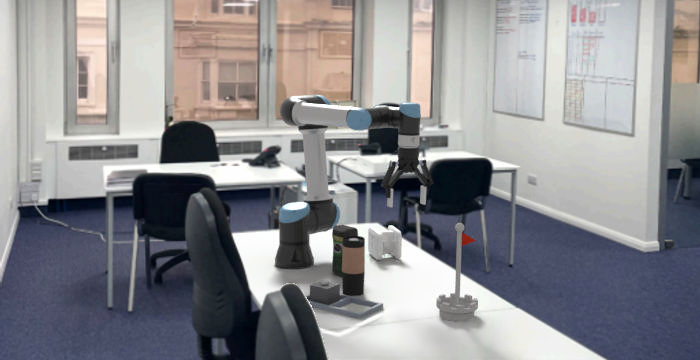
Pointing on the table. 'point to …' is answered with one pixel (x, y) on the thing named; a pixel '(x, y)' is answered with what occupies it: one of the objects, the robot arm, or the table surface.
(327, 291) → the seated block
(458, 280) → the flag stand
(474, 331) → the table surface
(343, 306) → the dock
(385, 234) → the cable organizer
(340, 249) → the coffee jar
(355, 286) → the travel mug
